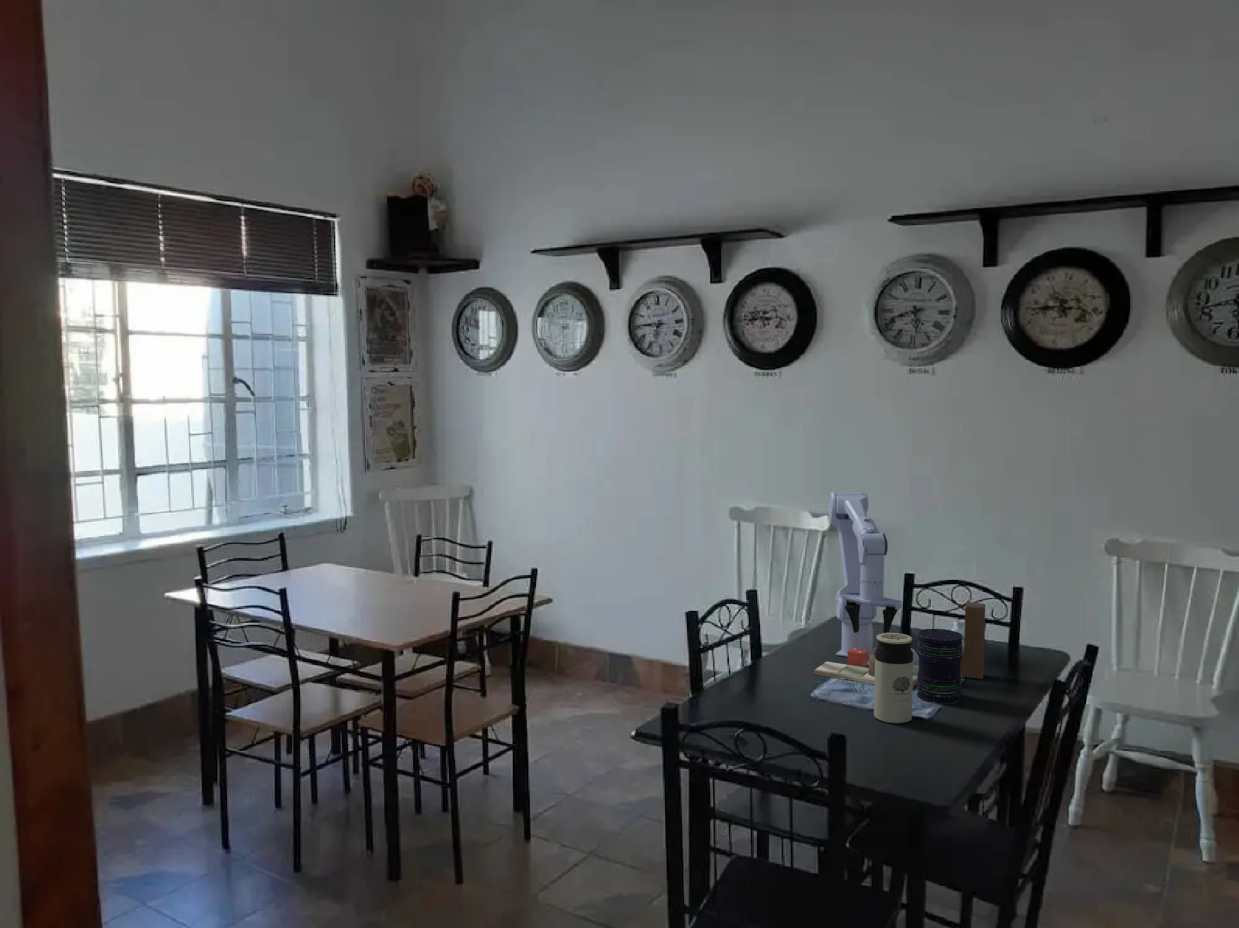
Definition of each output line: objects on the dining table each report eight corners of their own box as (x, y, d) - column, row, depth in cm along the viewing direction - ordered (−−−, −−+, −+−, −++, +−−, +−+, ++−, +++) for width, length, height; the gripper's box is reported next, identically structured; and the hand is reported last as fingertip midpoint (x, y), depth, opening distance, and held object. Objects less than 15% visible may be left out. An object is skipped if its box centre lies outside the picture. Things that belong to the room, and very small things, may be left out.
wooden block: (944, 675, 245) (945, 604, 244) (945, 670, 250) (947, 600, 248) (982, 679, 242) (984, 607, 240) (983, 674, 246) (985, 603, 245)
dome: (896, 662, 254) (897, 642, 254) (924, 667, 250) (925, 646, 250) (888, 670, 248) (889, 648, 248) (916, 674, 244) (917, 652, 244)
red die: (852, 662, 257) (852, 647, 256) (867, 665, 255) (868, 649, 254) (847, 666, 253) (847, 651, 253) (862, 669, 251) (862, 653, 251)
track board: (826, 665, 255) (826, 660, 255) (920, 680, 242) (920, 675, 242) (813, 674, 247) (813, 669, 247) (910, 690, 234) (910, 685, 234)
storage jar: (968, 703, 225) (970, 639, 224) (926, 705, 224) (927, 640, 223) (950, 689, 235) (952, 628, 233) (910, 691, 234) (911, 629, 233)
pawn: (872, 670, 246) (872, 643, 245) (889, 673, 244) (890, 645, 243) (866, 675, 242) (866, 647, 242) (883, 678, 240) (884, 650, 239)
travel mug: (870, 711, 220) (871, 632, 219) (906, 711, 220) (908, 632, 218) (878, 724, 212) (880, 642, 211) (916, 724, 212) (917, 642, 210)
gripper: (838, 580, 249) (837, 633, 250) (896, 587, 241) (895, 641, 242) (848, 575, 254) (847, 627, 256) (904, 581, 247) (903, 635, 248)
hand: (871, 634), depth 249 cm, fingers open, 7 cm apart
